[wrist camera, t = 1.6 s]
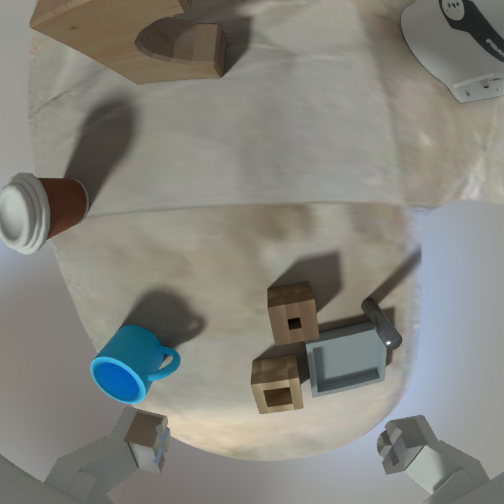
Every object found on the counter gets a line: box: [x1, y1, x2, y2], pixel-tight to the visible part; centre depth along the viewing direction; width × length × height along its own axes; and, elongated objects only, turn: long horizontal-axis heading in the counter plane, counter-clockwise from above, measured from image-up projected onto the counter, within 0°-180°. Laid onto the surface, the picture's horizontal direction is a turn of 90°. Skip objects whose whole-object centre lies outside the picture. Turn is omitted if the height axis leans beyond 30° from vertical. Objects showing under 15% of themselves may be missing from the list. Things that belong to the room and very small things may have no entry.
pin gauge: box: [361, 298, 402, 350], centre depth 30 cm, size 2×2×9 cm
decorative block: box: [30, 0, 227, 84], centre depth 17 cm, size 11×6×20 cm, turn 85°
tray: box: [305, 321, 387, 397], centre depth 35 cm, size 11×10×2 cm
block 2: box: [251, 355, 303, 414], centre depth 35 cm, size 6×6×5 cm
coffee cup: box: [0, 173, 89, 255], centre depth 26 cm, size 9×9×12 cm
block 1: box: [267, 282, 319, 346], centre depth 32 cm, size 5×5×5 cm
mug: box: [91, 325, 180, 404], centre depth 34 cm, size 12×8×8 cm
